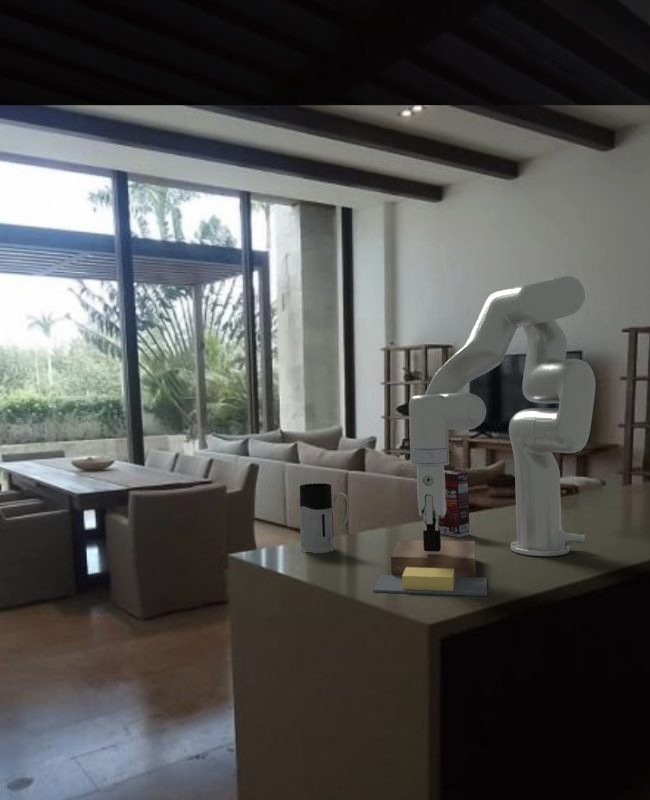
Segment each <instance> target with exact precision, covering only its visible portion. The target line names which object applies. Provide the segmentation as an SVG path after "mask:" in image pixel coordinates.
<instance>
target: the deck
mask: <svg viewBox="0 0 650 800" xmlns="http://www.w3.org/2000/svg"><path fill="white" fill-rule="evenodd" d="M390 565H391V566H390V567H391V568H390V569H391V570H390V571H391V575H403V573H404V571H405V568H406V567H417V568H451V569H454V577H474V578H476V541H474V540H441V549H440V551H439V552H435V551H424V539H423V540H420V539H418V540H417V539H399V541H398V542H397V544H396V547H395V548H394V550H393V552H392V554H391V556H390Z"/></svg>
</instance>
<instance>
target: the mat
mask: <svg viewBox="0 0 650 800" xmlns="http://www.w3.org/2000/svg"><path fill="white" fill-rule="evenodd" d="M454 578H455V582H454V589H453V591H442V590H415V589H403V584H402V575H392V574H381V575H380V577H379V579H378V580H377V582H376V584H375V587H374V588H373V593H387V594H388V593H390V594H392V593H393V594H415V595H416V594H417V595H419V594H420V595H443V596H444V595H446V596H448V595H449V596H455V595H456V596H476V597H478V596H479V597H480V596H481V597H488V585H487V577H475V578H474V577H454Z"/></svg>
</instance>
